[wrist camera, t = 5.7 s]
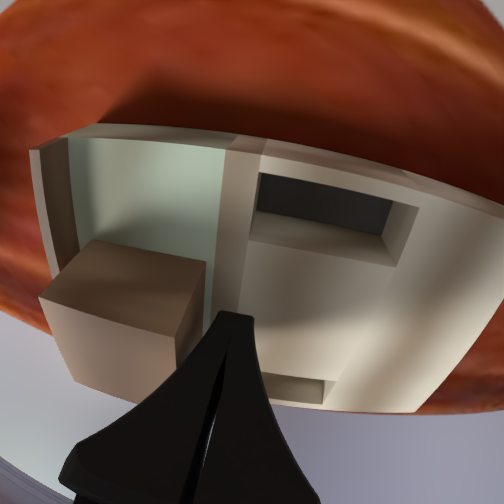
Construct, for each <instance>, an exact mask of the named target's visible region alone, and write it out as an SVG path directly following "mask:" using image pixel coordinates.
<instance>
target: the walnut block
mask: <svg viewBox="0 0 504 504" xmlns="http://www.w3.org/2000/svg"><path fill="white" fill-rule="evenodd" d="M205 276H206V261H202V260H197V259H191V258H186V257H181V256H176V255H171V254H166V253H161V252H155V251H150V250H145V249H140V248H135V247H130V246H125V245H120V244H115V243H110V242H106V241H101V240H96V239H92V240H91V241H90V242H89V243H88V244H87V245H86V246H85V247H84V248H83V249H82V250H81V251H80V252H79V253H78V254H77V255H76V256H75V257H74V258H73V259H72V260H71V261H70V262H69V263H68V264H67V265H66V266H65V267H64V268H63V270H62V271H61V272H60V273H59V274H58V275H57V276H56V277H55V278H54V279H53V280H52V282H51V283H50V284H49V285H48V286H47V287H46V288H45V289H44V291H43V292H42V293H41V294H40V295H39V296H38V298H39V300H40V303H41V306H42V309H43V311H44V314H45V316H46V319H47V322H48V324H49V327H50V329H51V331H52V334H53V336H54V338H55V341H56V343H57V345H58V347H59V350H60V352H61V354H62V356H63V358H64V360H65V363H66V365H67V367H68V369H69V371H70V373H71V375H72V377H73V379H74V381H75V382H78V383H80V384H83V385H85V386H88V387H90V388H93V389H96V390H98V391H101V392H104V393H106V394H109V395H112V396H115V397H117V398H120V399H123V400H126V401H129V402H133V403H136V404H139V403H141V402H142V401H143V400H144V399H145V398H147V397H148V396H149V395H150V394H151V393H152V392H154V391H155V390H156V389H157V388H158V387H159V386H160V385H161V384H162V383H163V382H164V381H165V380H166V379H167V378H168V377H169V376H170V375H171V374H172V373H173V372H174V371H175V370H176V369H177V368H178V367H179V366H180V364H181V363H182V362H183V361H184V360H185V359H186V358H187V357H188V355H189V354H190V353H191V352H192V350H193V349H194V348H195V346H196V345H197V344H198V343H199V341H200V340H201V339H202V335H203V312H204V293H205Z"/></svg>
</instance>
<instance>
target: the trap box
mask: <svg viewBox="0 0 504 504" xmlns="http://www.w3.org/2000/svg"><path fill="white" fill-rule="evenodd" d="M29 155H30V165H31V174H32V182H33V189H34V196H35V202H36V208H37V214H38V219H39V224H40V229H41V234H42V239H43V243H44V247H45V252H46V256H47V260H48V264H49V267H50V271H51V275H52V278H53V279H54V278H55V277H56V276H57V275H58V274H59V273H60V272H61V271H62V270H63V268H64V267H65V266H66V265H67V264H68V263H69V262H70V261H71V260H72V259H73V258H74V257H75V256H76V255H77V254H78V253H79V252H80V251H81V250H82V249H83V248H84V247H85V246H86V245H87V244H88V243H89V242H90V241H91V240H92V239H96V240H101V241H106V242H110V243H115V244H120V245H125V246H130V247H135V248H140V249H145V250H150V251H155V252H161V253H166V254H171V255H176V256H181V257H186V258H191V259H197V260H202V261H206V276H205V293H204V312H203V335H202V337H203V336H204V334H205V333H206V332H207V330H208V329H209V327H210V326H211V324H212V322H213V321H214V319H215V317H216V315H217V313H218V312H219V311H221V310H224V311H230V312H235V313H240V314H245V315H251V316H253V317H254V319H255V320H254V334H255V343H256V351H257V356H258V361H259V366H260V370H261V375H262V378H263V382H264V386H265V389H266V392H267V396H268V399H269V402H270V403H271V404H278V405H285V406H294V407H302V408H312V409H323V410H337V411H354V412H415V411H416V410H417V409H418V408H419V407H420V406H421V405H422V404H423V403H424V402H425V401H426V400H427V398H428V397H429V396H430V395H431V394H432V393H433V392H434V391H435V390H436V389H437V388H438V386H439V385H440V384H441V383H442V382H443V381H444V380H445V378H446V377H447V376H448V375H449V374H450V372H451V371H452V370H453V369H454V368H455V366H456V365H457V364H458V363H459V361H460V360H461V359H462V358H463V356H464V355H465V354H466V352H467V351H468V350H469V349H470V347H471V346H472V345H473V343H474V342H475V340H476V339H477V338H478V336H479V335H480V333H481V332H482V331H483V329H484V328H485V326H486V325H487V323H488V322H489V320H490V319H491V317H492V316H493V314H494V313H495V311H496V310H497V308H498V307H499V305H500V303H501V302H502V300H503V298H504V206H503V205H501V204H499V203H496V202H494V201H491V200H489V199H486V198H484V197H481V196H479V195H476V194H473V193H471V192H468V191H465V190H463V189H460V188H457V187H454V186H452V185H449V184H446V183H443V182H440V181H437V180H434V179H431V178H428V177H425V176H422V175H419V174H415V173H412V172H409V171H406V170H402V169H399V168H395V167H392V166H388V165H385V164H381V163H377V162H374V161H370V160H366V159H362V158H358V157H354V156H350V155H346V154H342V153H337V152H333V151H329V150H324V149H319V148H315V147H310V146H305V145H300V144H295V143H289V142H284V141H278V140H273V139H267V138H261V137H254V136H248V135H241V134H234V133H226V132H218V131H210V130H201V129H191V128H180V127H168V126H154V125H137V124H107V123H95V124H92V125H89V126H86V127H84V128H81V129H78V130H76V131H73V132H70V133H68V134H65V135H63V136H60V137H58V138H55V139H53V140H50V141H48V142H45V143H43V144H41V145H38V146H36V147H34V148H32V149H30V150H29Z"/></svg>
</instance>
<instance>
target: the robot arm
mask: <svg viewBox="0 0 504 504" xmlns="http://www.w3.org/2000/svg"><path fill="white" fill-rule="evenodd" d="M254 320H255V319H254V317H253V316H251V315H245V314H240V313H235V312H230V311H224V310H221V311H219V312H218V313H217V315H216V317H215V319H214V321H213V322H212V324H211V326H210V327H209V329H208V330H207V332H206V333H205V334H204V336H203V337H202V339H201V340H200V341H199V343H198V344H197V345H196V346H195V348H194V349H193V350H192V352H191V353H190V354H189V355H188V357H187V358H186V359H185V360H184V361H183V362H182V363H181V364H180V366H179V367H178V368H177V369H176V370H175V371H174V372H173V373H172V374H171V375H170V376H169V377H168V378H167V379H166V380H165V381H164V382H163V383H162V384H161V385H160V386H159V387H158V388H157V389H156V390H155V391H154V392H152V393H151V394H150V395H149V396H148V397H147V398H145V399H144V400H143V401H142V402H141V403H139V404H138V405H137V406H136V407H134V408H133V409H132V410H130V411H129V412H128V413H126V414H125V415H123V416H122V417H120V418H119V419H117V420H116V421H115V422H113V423H111V424H110V425H109V426H107V427H105V428H104V429H102V430H100V431H98V432H97V433H95V434H93V435H91V436H89V437H88V438H86V439H84V440H82V441H80V442H78V443H77V444H76V445H75V447H74V448H73V449H72V451H71V452H70V454H69V456H68V457H67V458H66V460H65V463H64V465H63V467H62V470H61V472H60V475H59V477H58V480H59V482H60V483H61V484H62V485H64V486H65V487H67V488H68V489H70V490H72V491H73V492H75V493H76V497H75V500H74V501H73V500H71V499H69V498H67V497H65V496H63V495H61V494H60V493H57V492H56V491H54V490H52V489H50V488H49V487H47V486H45V485H43V484H42V483H40V482H38V481H37V480H35V479H33V478H32V477H30V476H28V475H27V474H25V473H24V472H22V471H21V470H19V469H18V468H16V467H14V466H13V465H12V464H10V463H9V462H7V461H6V460H4V459H3V458H2V457H0V504H321V502H320V499H319V497H318V495H317V493H316V492H315V491H314V489H313V488H312V486H311V485H310V483H309V482H308V480H307V479H306V477H305V475H304V474H303V472H302V470H301V469H300V467H299V465H298V464H297V462H296V460H295V458H294V457H293V454H292V452H291V450H290V449H289V446H288V445H287V442H286V440H285V438H284V436H283V434H282V432H281V430H280V428H279V425H278V423H277V420H276V418H275V415H274V413H273V410H272V407H271V405H270V402H269V399H268V396H267V392H266V389H265V386H264V382H263V378H262V375H261V370H260V366H259V361H258V356H257V351H256V343H255V334H254ZM215 416H216V417H215ZM214 419H215V421H214ZM213 422H214V425H213ZM212 425H213V429H212V433H211V437H210V441H209V445H208V449H207V444H208V440H209V435H210V431H211V428H212ZM206 449H207V453H206ZM205 454H206V457H205ZM204 458H205V461H204ZM203 463H204V465H203Z"/></svg>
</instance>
